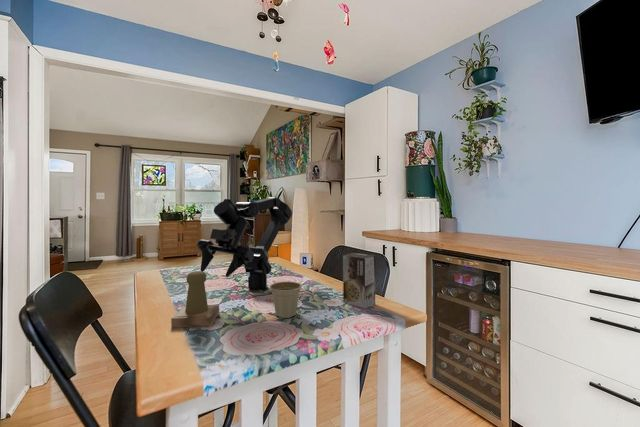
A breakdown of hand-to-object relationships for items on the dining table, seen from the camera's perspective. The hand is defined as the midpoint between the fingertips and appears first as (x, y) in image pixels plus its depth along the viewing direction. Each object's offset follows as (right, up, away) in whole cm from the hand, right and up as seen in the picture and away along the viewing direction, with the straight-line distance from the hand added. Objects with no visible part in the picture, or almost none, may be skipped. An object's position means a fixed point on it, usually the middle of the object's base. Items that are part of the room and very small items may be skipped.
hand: (213, 273), depth 94 cm
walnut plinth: (-2, -11, -9) cm, 14 cm away
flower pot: (+23, -11, -5) cm, 26 cm away
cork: (-2, -9, -9) cm, 13 cm away
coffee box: (+46, -11, +5) cm, 48 cm away
